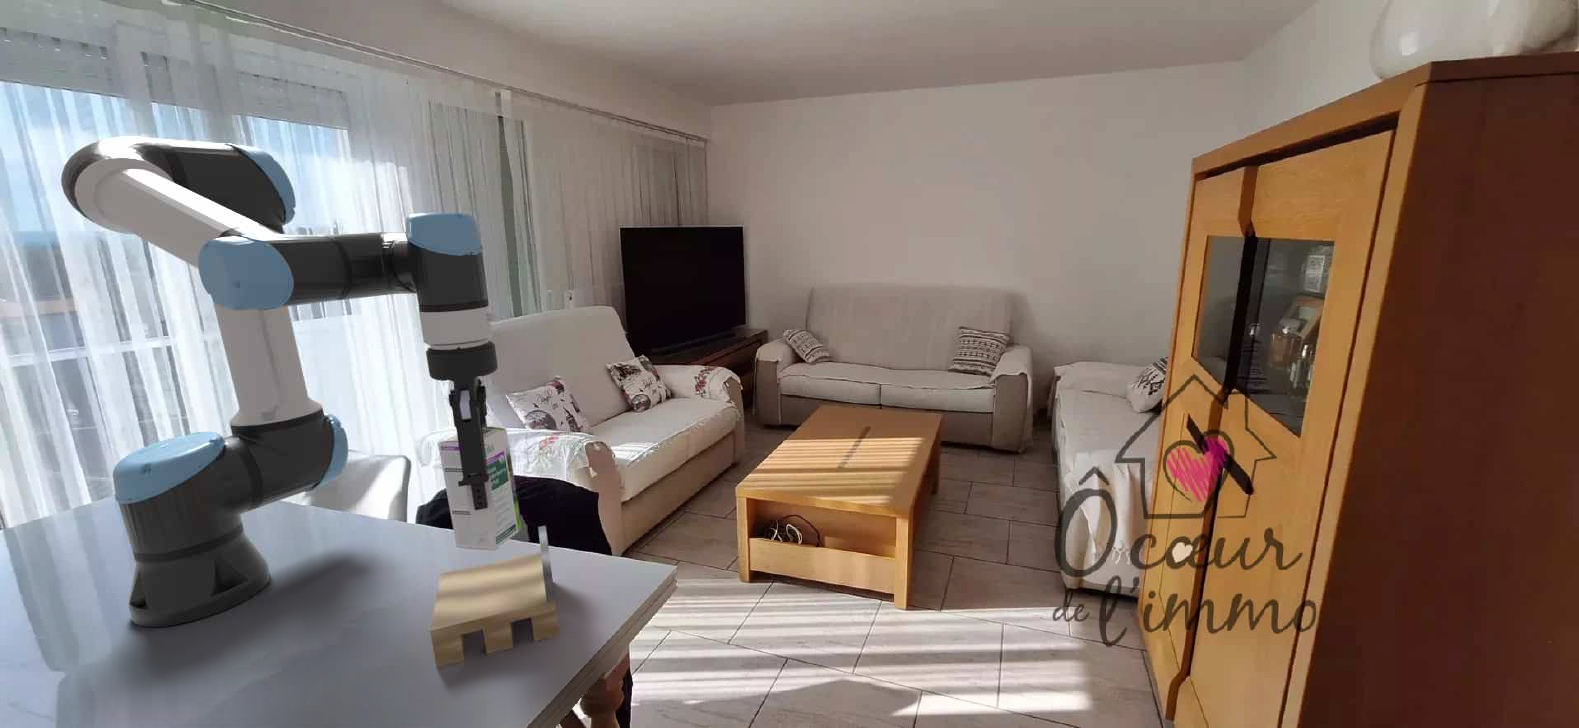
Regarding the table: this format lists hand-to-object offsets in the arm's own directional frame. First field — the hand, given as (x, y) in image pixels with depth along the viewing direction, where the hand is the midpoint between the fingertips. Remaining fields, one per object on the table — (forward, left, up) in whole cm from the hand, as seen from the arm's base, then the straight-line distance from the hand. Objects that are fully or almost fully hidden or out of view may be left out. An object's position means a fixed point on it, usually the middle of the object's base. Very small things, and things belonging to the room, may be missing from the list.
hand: (486, 517), depth 82 cm
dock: (0, 0, -15) cm, 15 cm away
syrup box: (0, 0, -3) cm, 3 cm away
